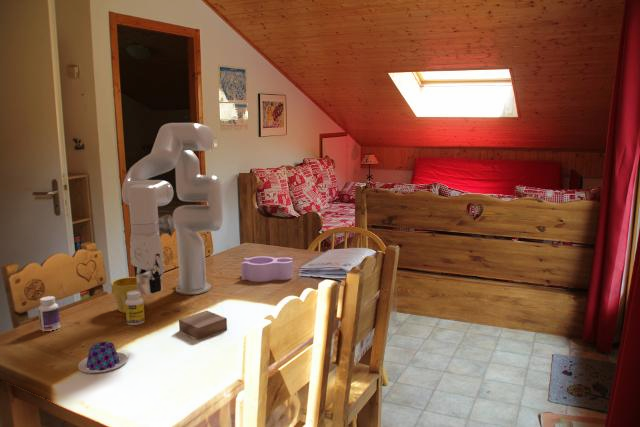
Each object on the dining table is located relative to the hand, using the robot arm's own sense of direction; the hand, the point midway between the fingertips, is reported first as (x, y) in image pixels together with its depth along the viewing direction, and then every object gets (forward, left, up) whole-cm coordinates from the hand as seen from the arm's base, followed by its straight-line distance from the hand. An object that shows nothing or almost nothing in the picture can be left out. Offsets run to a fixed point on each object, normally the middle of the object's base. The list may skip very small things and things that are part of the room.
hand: (150, 289), depth 152 cm
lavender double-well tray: (-15, +62, -15) cm, 66 cm away
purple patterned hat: (+5, -18, -15) cm, 24 cm away
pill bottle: (-30, -16, -14) cm, 37 cm away
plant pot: (-26, +8, -14) cm, 30 cm away
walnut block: (+8, +12, -15) cm, 20 cm away
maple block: (0, 0, -1) cm, 1 cm away
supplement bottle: (-14, +3, -14) cm, 20 cm away
